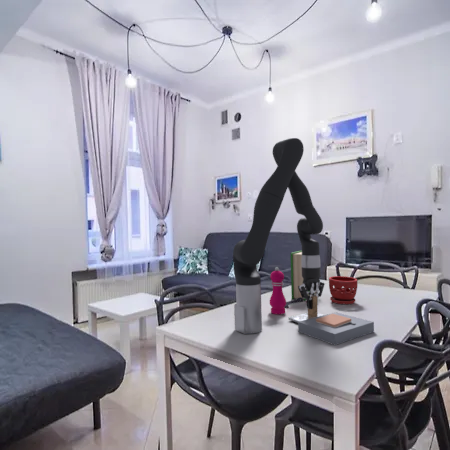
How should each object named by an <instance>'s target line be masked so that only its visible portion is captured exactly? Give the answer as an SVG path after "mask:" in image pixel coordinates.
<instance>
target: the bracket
mask: <svg viewBox="0 0 450 450" xmlns="http://www.w3.org/2000/svg"><path fill="white" fill-rule="evenodd" d="M298 303H304V299H303V298H301V297H299V298H295V299H291V300H289V301H286V305H285V307H284V308H285V309H287V308H288V309H289V308H290V307H289V306H290V305H291V304H298Z"/></svg>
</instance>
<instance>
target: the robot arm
mask: <svg viewBox="0 0 450 450" xmlns="http://www.w3.org/2000/svg"><path fill="white" fill-rule="evenodd" d="M303 154H304V144H303V142H302V140H301V139H300V138H298V137H290V138H289V137H288V138H287V139H283V140H281V141H278V142H276V143H275V144H273V148H272V155H273V156H272V157H273V160H274V161H275V164H276V169H275V170H274V172H273V173H272V174H271V176H269V178H268V179H267V180H266V181H265V183H264V184H263V186H262V187H261V189H260V191H259V192H258V196H257V198H256V199H255V200H256V201H255V203H254V207H253V217H252V224H251V228H250V229H249V232H248V235H247V237H246V238H245V239H242V240H240V241H238V242H236V244H235V245H234V247H233V252H232V261H233V264H232V265H233V274H234V277H235V296H236V299H235V300H236V301H235V302H236V303H234V305H233V306H234V308H233V309H234V312H233V313H234V331H237V332H239V333H241V334H243V335H246V334H257V333H260V332H262V330H263V325H262V324H263V322H262V321H263V318H262V316H263V315H262V313H263V312H262V279H261V275H260V273H259V271H258V267H257V265H258V264H260V262H261V260H262V259H263V256H264V255H265V254H264V253H265V250H266V246H267V243H268V241H269V236H270V233H271V230H272V229H273V226H274V224H275V223H274V222H275V221H276V219H277V215H278V214H279V210H280V209H281V206H282V204H283V201H284V197H285V195H286V193H287V190H288V191H289V193H290V197H291V200H292V203H293V206H294V209H295V212H296V213H297V214H298V215H302V216H304V217H301V218H299V220H298V221H297V223H296V231H297V234H298V237H299V241H300V245H301V250H302V259H301V264H302V277H303V284H302V285H301V286H300V285H299V286H298V289H299V291H300V293H301V296H302V298H304V299H306V301H305V303H306V306H305V307H306V308H307V310H308V309H312V295H315V296H317V306H318V305H319V304H318V299H319V297H320V298H321V297H322V295H323V290H324V288H325V284H326V283H324V282H322V281H321V280H320V278H321V276H322V275H321V271H322V269H321V257H320V256H321V255H320V254H321V253H320V242H319V241H318V240H315V239H313V238H312V235H320V233H322V231H323V229H324V221H323V220H322V218H321V216H320V214H319V213H318V211H317V209H316V207H315V206H314V205H313V202H312V197H311V195H310V192H309V189H308V188H307V186H306V184H305V183H304V182H303V180H302V179H301V178H300V177H299V175H298V173H297V172H296V170H297V168H298V166H299V164H300V162H301V160H302V158H303ZM308 291H310V292H308ZM314 293H315V294H314ZM308 294H309V296H308ZM304 299H303V300H304Z"/></svg>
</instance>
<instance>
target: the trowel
mask: <svg viewBox="0 0 450 450" xmlns="http://www.w3.org/2000/svg"><path fill="white" fill-rule="evenodd" d="M308 296H309V295H308ZM317 301H318V299H317V296H315V295H312V309H308V308H307V312H305V313H301V314H297V315H293V316H292V315H291V316H289V317H288V320H290V321H292V322H295V323H297V324H298V322H299V321H303V320H307V319H311V318H315V317H319V316H323V315H324V314H322V313H319V312H318V305H317V304H318V302H317Z"/></svg>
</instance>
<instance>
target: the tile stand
mask: <svg viewBox="0 0 450 450" xmlns="http://www.w3.org/2000/svg"><path fill="white" fill-rule="evenodd" d="M330 314H336V315H339V316H343V317H347V318H350V319H351V322H349V323H346V324H343V325H341V326H338V327H335V328H334V327H331V326H327V325H324V324H321V323H318V322H316V319H318V318H321V317H324V316H327V315H330ZM374 324H375V322H374V321H373V320H368V319H364V318H360V317H356V316H352V315H348V314H344V313H341V312H338V311H335V312H331V313H328V314H323V316H319V317H315V318H311V319H307V320H303V321H299V322H298V323H297V332H298V333H301V334H303V335H307V336H310V337H312V338H315V339H318V340H320V341H323V342H325V343H328V342H329V343H328V344H331V343H332V344H331V345H334V344H335V345H334V346H336V344H337V345H339V343H340V344H342V342H343V343H345V342H348V341H351V340H353V339H357V338H361V337H363V336H366V335H369V334H371V333H374V332H375V325H374ZM356 337H357V338H356ZM350 339H351V340H350ZM347 340H348V341H347Z"/></svg>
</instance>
